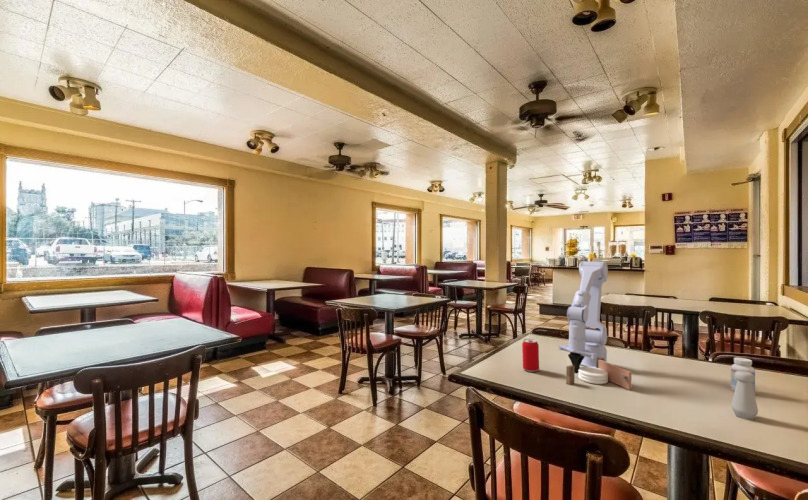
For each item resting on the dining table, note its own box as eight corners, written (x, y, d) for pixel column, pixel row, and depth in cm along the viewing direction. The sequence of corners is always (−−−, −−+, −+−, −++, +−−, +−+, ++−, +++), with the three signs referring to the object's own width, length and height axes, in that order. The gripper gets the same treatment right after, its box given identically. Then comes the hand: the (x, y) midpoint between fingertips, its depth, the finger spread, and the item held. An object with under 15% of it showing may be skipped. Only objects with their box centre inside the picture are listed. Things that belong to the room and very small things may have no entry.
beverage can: (537, 367, 146) (537, 338, 146) (540, 373, 140) (539, 342, 140) (522, 367, 148) (521, 338, 148) (523, 372, 142) (523, 342, 142)
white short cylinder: (605, 386, 127) (605, 377, 127) (575, 380, 133) (575, 370, 133) (610, 379, 135) (610, 369, 135) (581, 373, 141) (581, 364, 141)
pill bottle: (748, 389, 126) (748, 357, 126) (759, 396, 120) (759, 362, 120) (727, 387, 128) (727, 355, 128) (736, 393, 122) (736, 360, 122)
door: (595, 375, 138) (595, 359, 138) (600, 375, 138) (600, 359, 138) (625, 389, 123) (626, 372, 123) (631, 389, 124) (631, 372, 124)
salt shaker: (725, 412, 107) (725, 369, 107) (742, 411, 108) (743, 368, 108) (745, 421, 102) (746, 376, 102) (764, 421, 102) (764, 375, 102)
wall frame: (600, 373, 141) (601, 356, 141) (603, 374, 140) (604, 356, 140) (566, 383, 130) (566, 365, 130) (569, 384, 129) (569, 365, 129)
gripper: (553, 334, 142) (553, 368, 141) (589, 342, 129) (588, 380, 129) (565, 333, 145) (564, 366, 145) (600, 340, 133) (599, 377, 133)
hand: (576, 372), depth 137 cm, fingers closed, pressing on white short cylinder
